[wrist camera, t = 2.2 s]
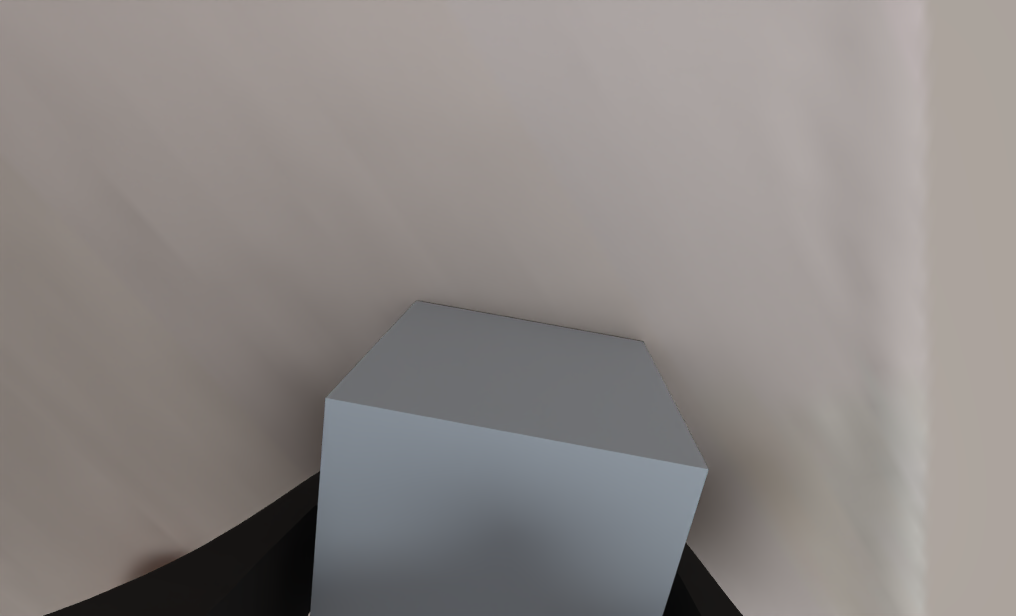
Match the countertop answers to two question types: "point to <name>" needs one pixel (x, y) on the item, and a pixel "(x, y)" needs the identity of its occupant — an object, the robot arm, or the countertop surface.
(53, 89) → the countertop surface
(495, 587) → the pale grey rectangular box
